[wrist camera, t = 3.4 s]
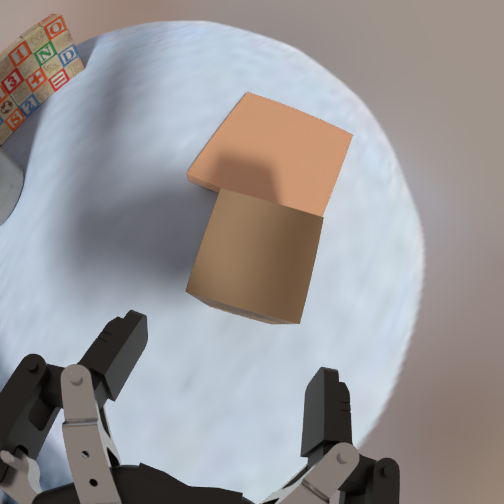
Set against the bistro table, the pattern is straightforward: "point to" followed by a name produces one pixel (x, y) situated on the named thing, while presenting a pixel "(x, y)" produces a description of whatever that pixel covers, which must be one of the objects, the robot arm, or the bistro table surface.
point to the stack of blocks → (35, 70)
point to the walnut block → (256, 259)
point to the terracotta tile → (273, 155)
